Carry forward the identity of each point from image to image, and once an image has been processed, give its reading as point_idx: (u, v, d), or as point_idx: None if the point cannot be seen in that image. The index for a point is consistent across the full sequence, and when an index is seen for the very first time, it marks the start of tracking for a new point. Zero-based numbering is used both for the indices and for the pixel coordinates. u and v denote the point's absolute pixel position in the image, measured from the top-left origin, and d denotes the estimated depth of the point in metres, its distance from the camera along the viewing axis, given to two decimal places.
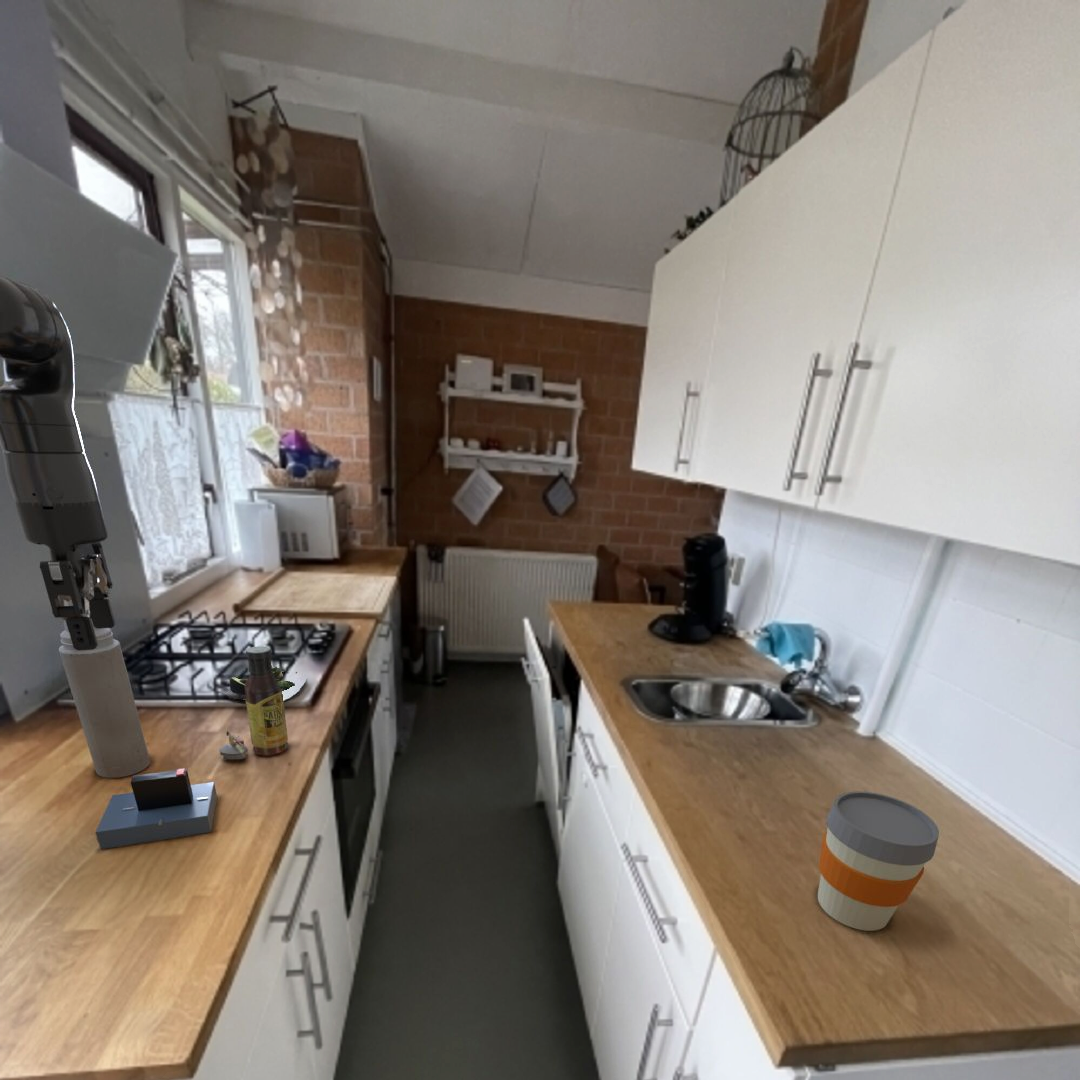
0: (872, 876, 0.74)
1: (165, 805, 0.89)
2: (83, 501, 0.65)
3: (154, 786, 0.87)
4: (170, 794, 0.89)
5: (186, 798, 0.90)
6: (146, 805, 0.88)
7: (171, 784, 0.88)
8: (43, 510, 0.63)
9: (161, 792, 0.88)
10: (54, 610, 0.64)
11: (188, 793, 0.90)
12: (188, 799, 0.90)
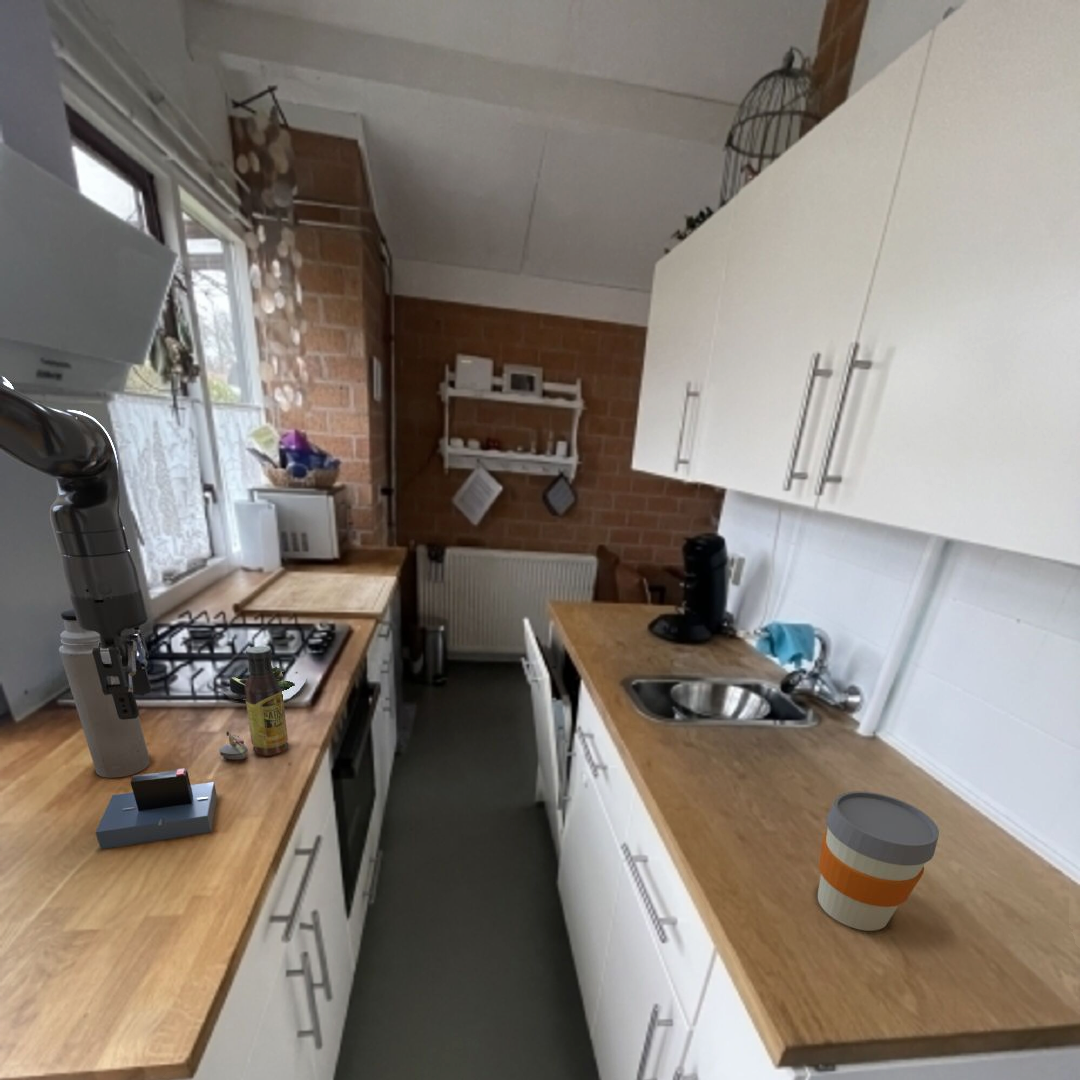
0: (872, 876, 0.74)
1: (165, 805, 0.89)
2: (128, 593, 0.74)
3: (154, 786, 0.87)
4: (170, 794, 0.89)
5: (186, 798, 0.90)
6: (146, 805, 0.88)
7: (171, 784, 0.88)
8: (95, 603, 0.72)
9: (161, 792, 0.88)
10: (103, 689, 0.73)
11: (188, 793, 0.90)
12: (188, 799, 0.90)
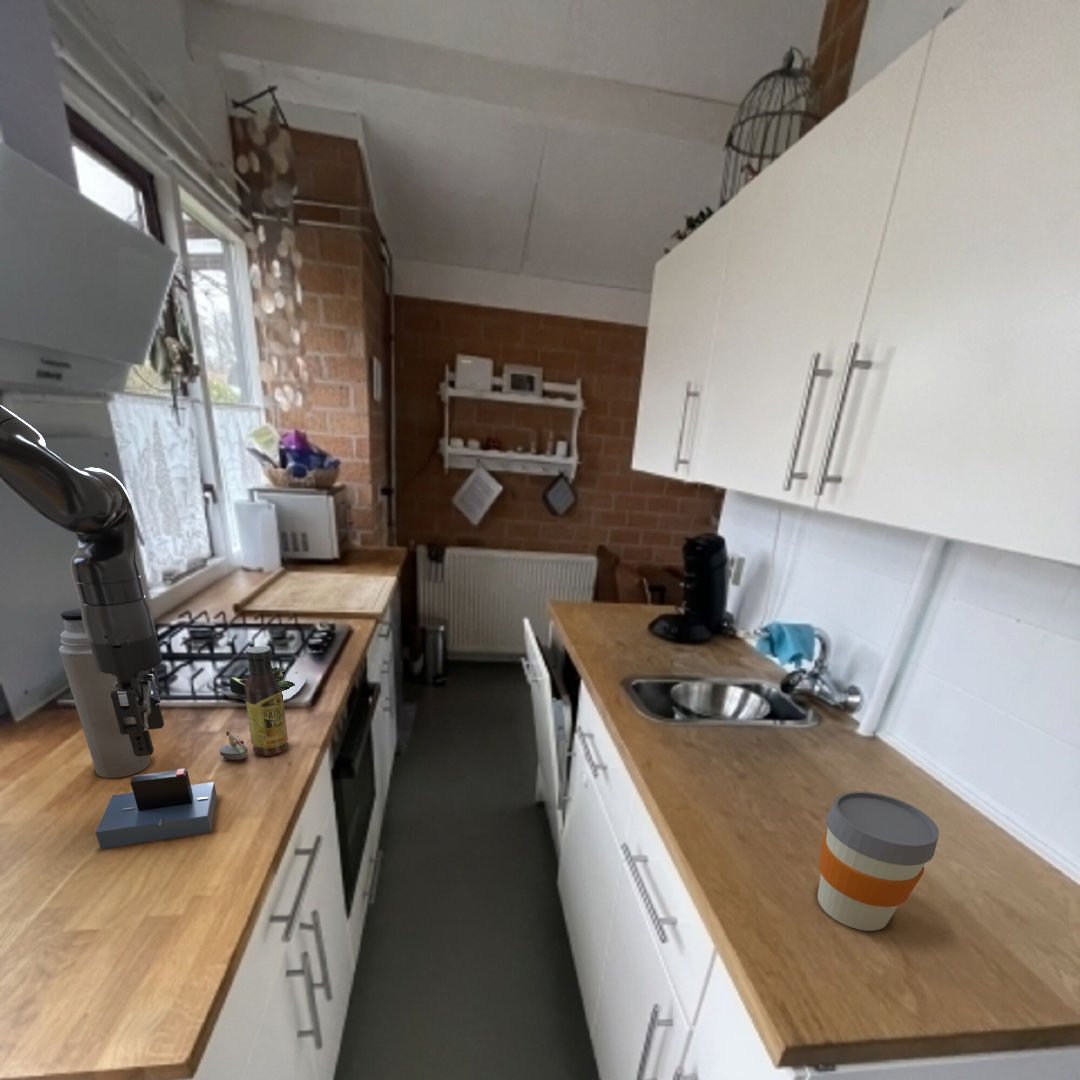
0: (872, 876, 0.74)
1: (165, 805, 0.89)
2: (144, 637, 0.78)
3: (154, 786, 0.87)
4: (170, 794, 0.89)
5: (186, 798, 0.90)
6: (146, 805, 0.88)
7: (171, 784, 0.88)
8: (113, 649, 0.76)
9: (161, 792, 0.88)
10: (121, 729, 0.77)
11: (188, 793, 0.90)
12: (188, 799, 0.90)
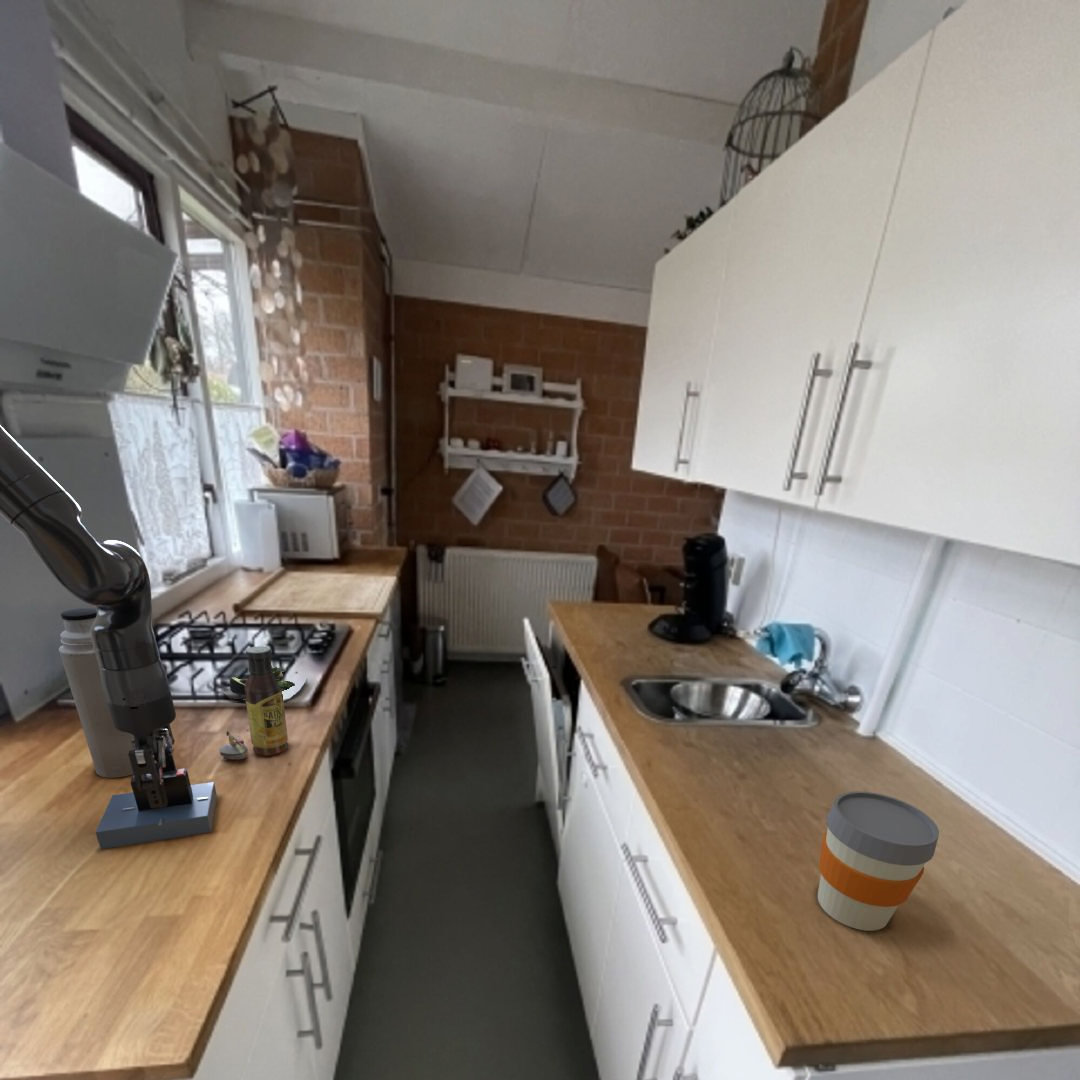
0: (872, 876, 0.74)
1: None
2: (159, 697, 0.82)
3: None
4: (170, 794, 0.89)
5: (186, 798, 0.90)
6: (146, 805, 0.88)
7: (171, 784, 0.88)
8: (130, 710, 0.80)
9: None
10: (138, 785, 0.81)
11: (188, 793, 0.90)
12: (188, 799, 0.90)
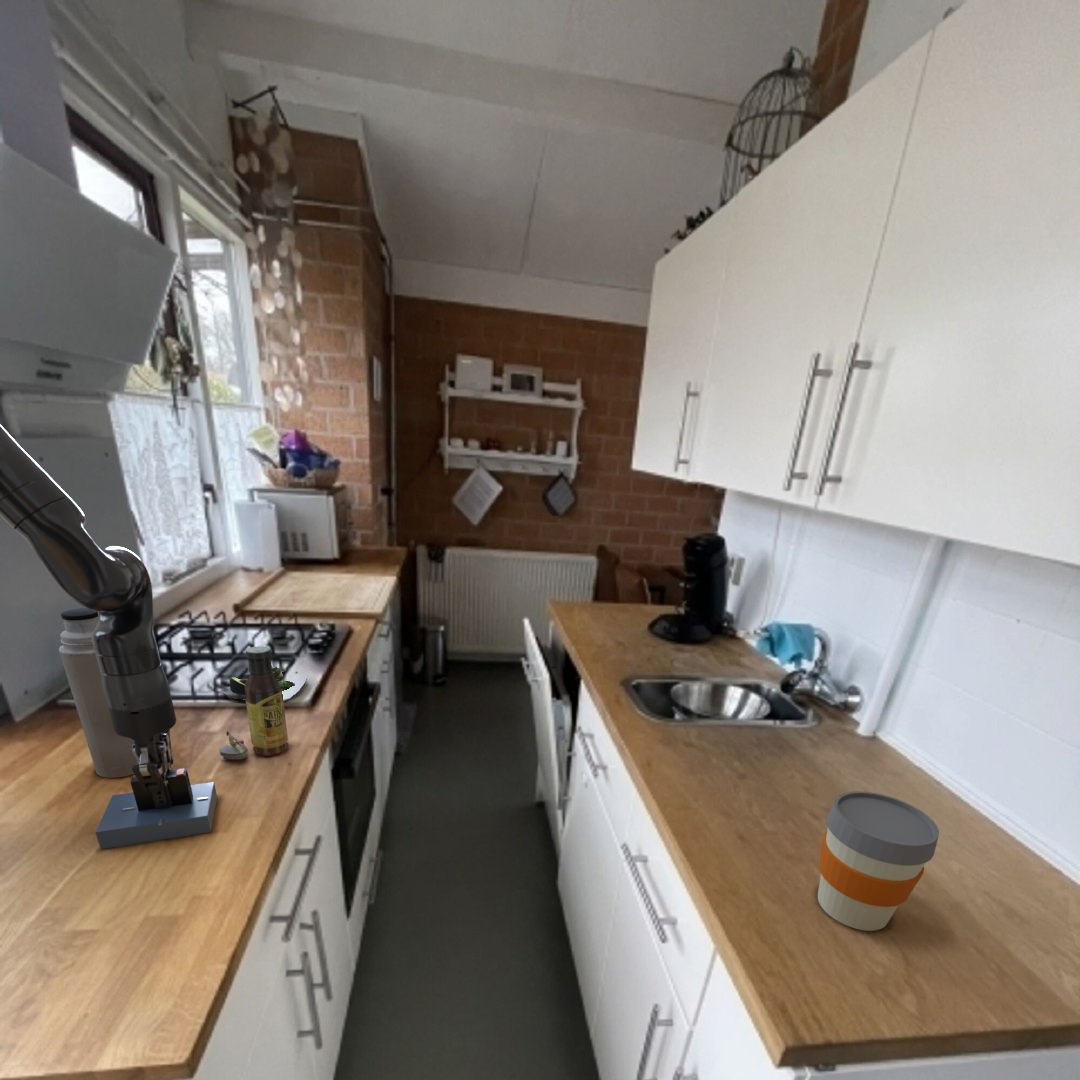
0: (872, 876, 0.74)
1: None
2: (160, 703, 0.82)
3: None
4: None
5: (186, 798, 0.90)
6: (146, 805, 0.88)
7: (171, 784, 0.88)
8: (131, 715, 0.80)
9: None
10: (144, 789, 0.84)
11: (188, 793, 0.90)
12: (188, 799, 0.90)
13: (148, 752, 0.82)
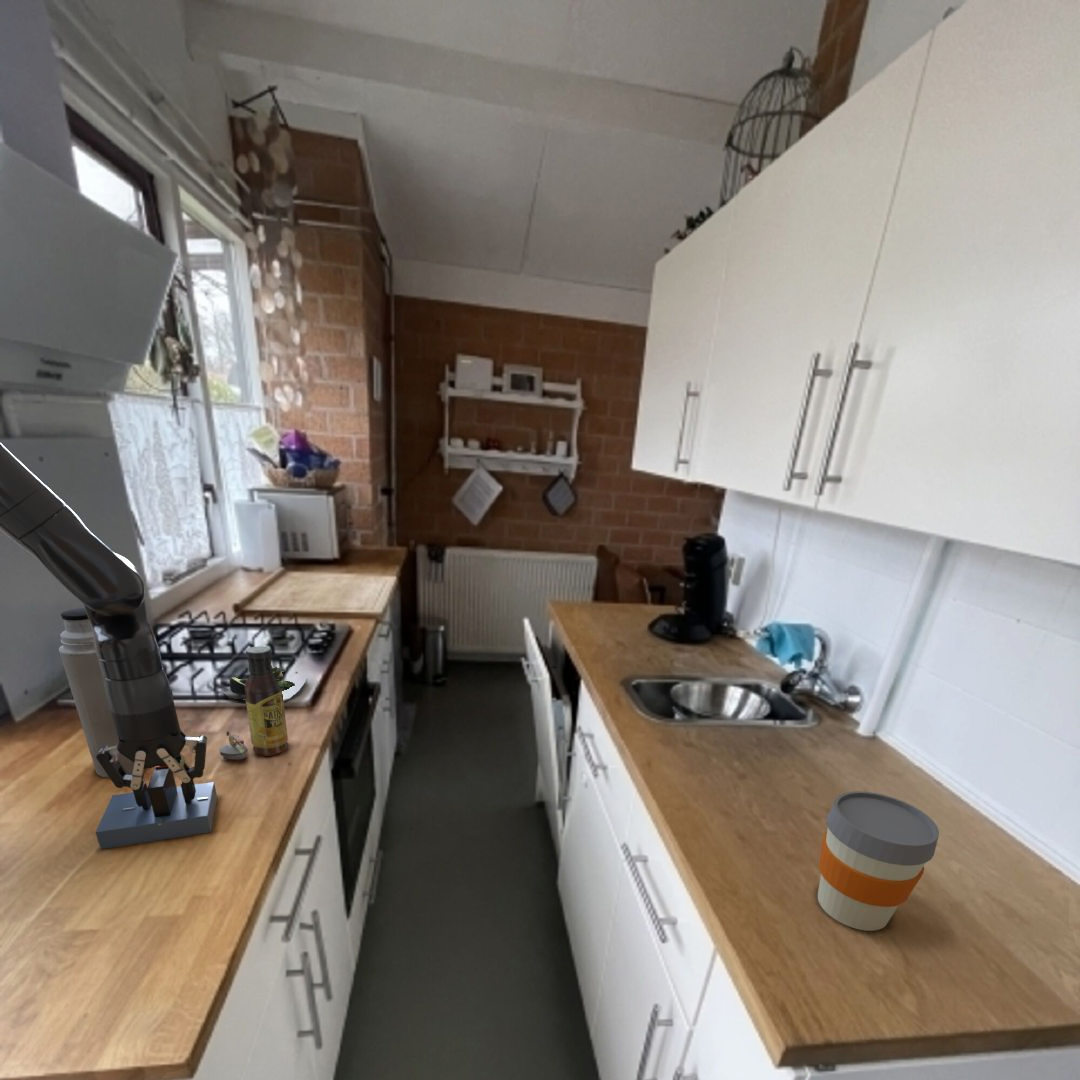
0: (872, 876, 0.74)
1: (173, 800, 0.90)
2: None
3: (167, 783, 0.88)
4: (172, 787, 0.91)
5: (175, 787, 0.93)
6: (170, 806, 0.88)
7: (170, 776, 0.90)
8: (173, 706, 0.84)
9: (170, 788, 0.89)
10: None
11: (174, 781, 0.93)
12: (176, 787, 0.93)
13: (185, 736, 0.88)
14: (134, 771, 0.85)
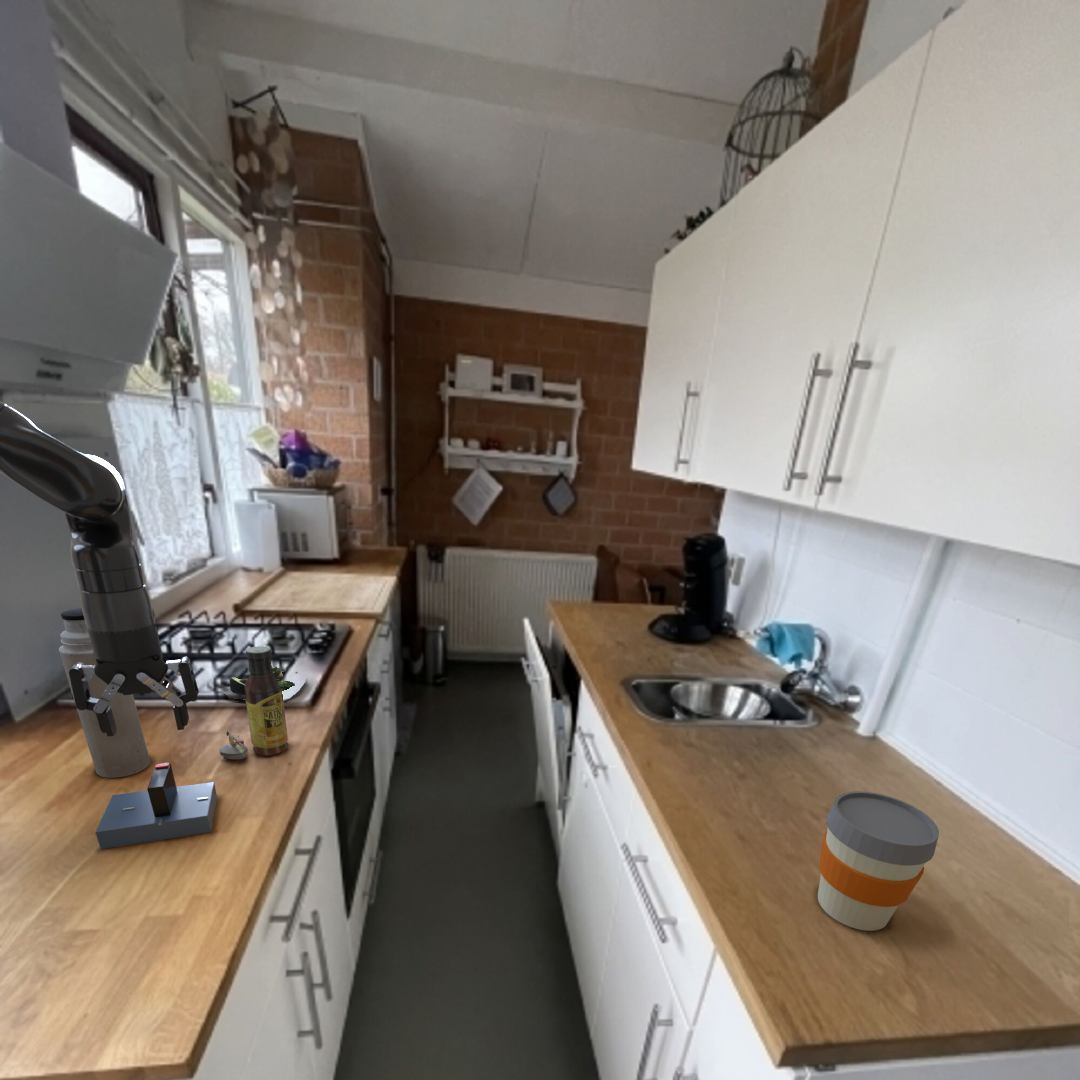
0: (872, 876, 0.74)
1: (173, 800, 0.90)
2: None
3: (167, 783, 0.88)
4: (172, 787, 0.91)
5: (175, 787, 0.93)
6: (170, 806, 0.88)
7: (170, 776, 0.90)
8: (154, 628, 0.80)
9: (170, 788, 0.89)
10: (196, 694, 0.84)
11: (174, 781, 0.93)
12: (176, 787, 0.93)
13: (166, 660, 0.83)
14: (105, 693, 0.80)
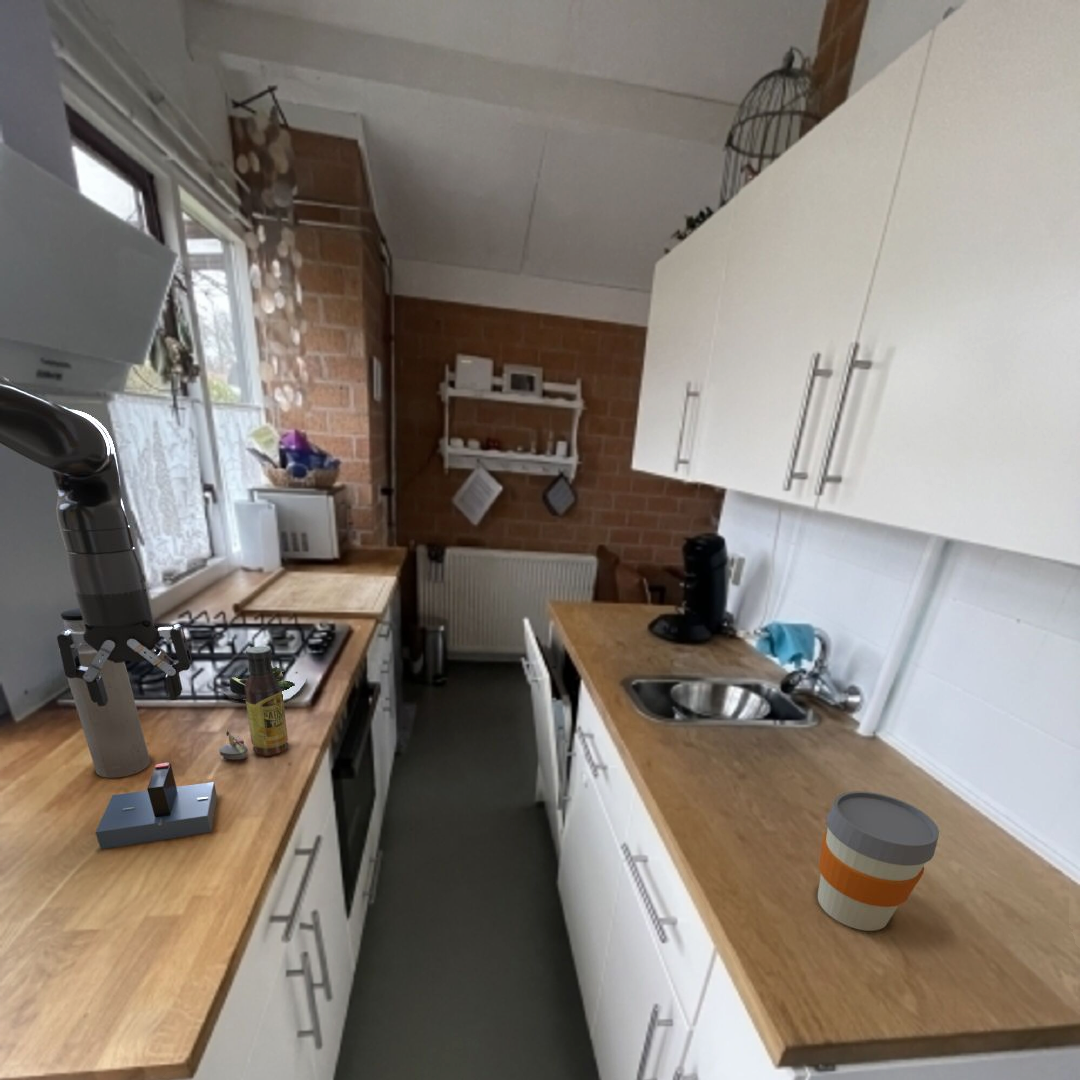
0: (872, 876, 0.74)
1: (173, 800, 0.90)
2: None
3: (167, 783, 0.88)
4: (172, 787, 0.91)
5: (175, 787, 0.93)
6: (170, 806, 0.88)
7: (170, 776, 0.90)
8: (145, 592, 0.77)
9: (170, 788, 0.89)
10: (189, 663, 0.82)
11: (174, 781, 0.93)
12: (176, 787, 0.93)
13: None
14: (94, 660, 0.77)
